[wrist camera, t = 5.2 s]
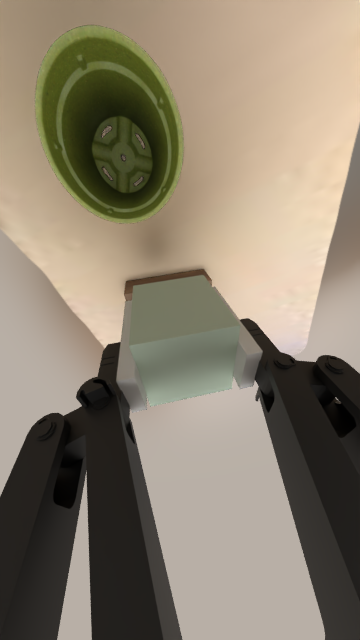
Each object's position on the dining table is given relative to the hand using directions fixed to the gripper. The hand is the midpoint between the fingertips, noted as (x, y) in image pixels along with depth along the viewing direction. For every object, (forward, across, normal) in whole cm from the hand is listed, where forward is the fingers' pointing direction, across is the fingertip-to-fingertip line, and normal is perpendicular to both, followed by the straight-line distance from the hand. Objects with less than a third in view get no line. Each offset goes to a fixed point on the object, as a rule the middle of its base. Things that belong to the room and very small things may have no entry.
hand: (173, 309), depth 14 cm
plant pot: (+15, -2, +10) cm, 18 cm away
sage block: (0, 0, 0) cm, 1 cm away
